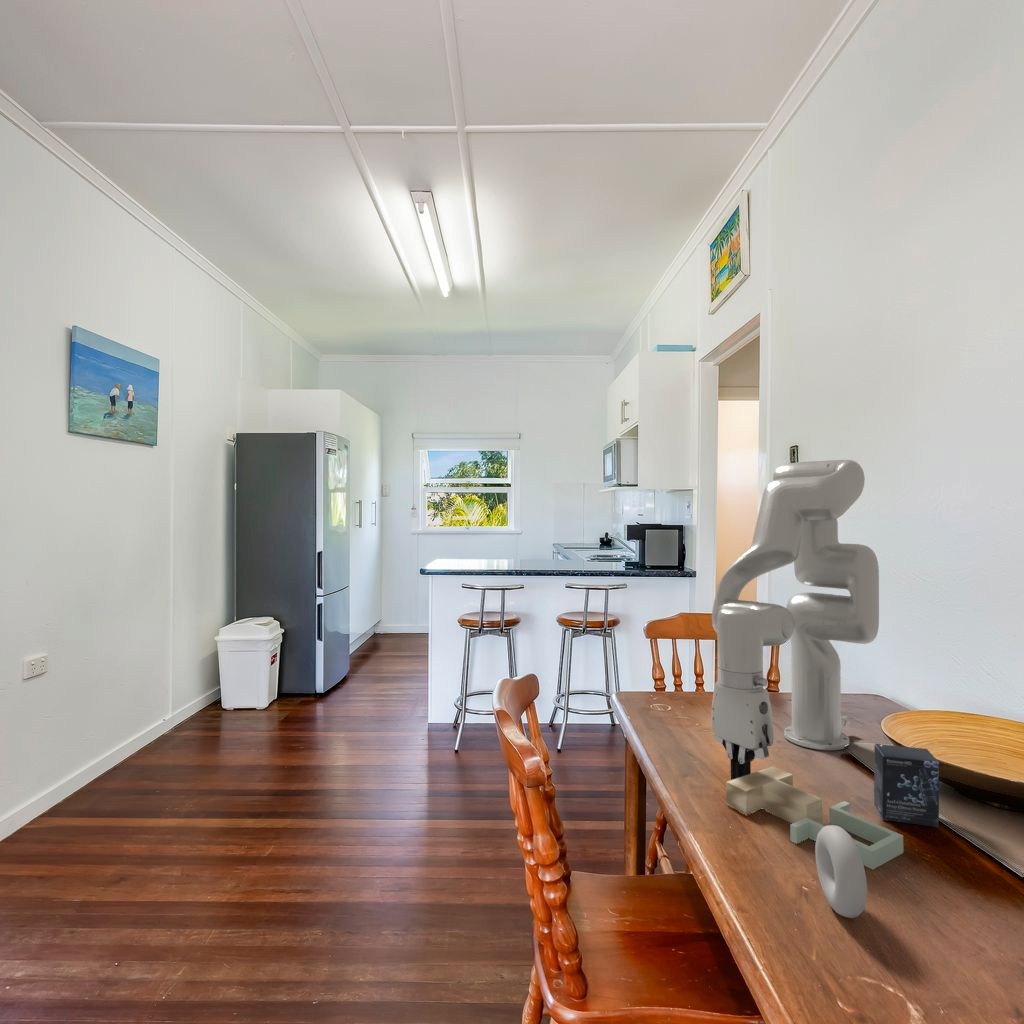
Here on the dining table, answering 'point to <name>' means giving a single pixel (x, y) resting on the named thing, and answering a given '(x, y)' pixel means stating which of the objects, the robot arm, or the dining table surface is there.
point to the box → (906, 785)
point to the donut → (841, 871)
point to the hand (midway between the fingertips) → (740, 782)
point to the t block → (773, 796)
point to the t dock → (872, 856)
